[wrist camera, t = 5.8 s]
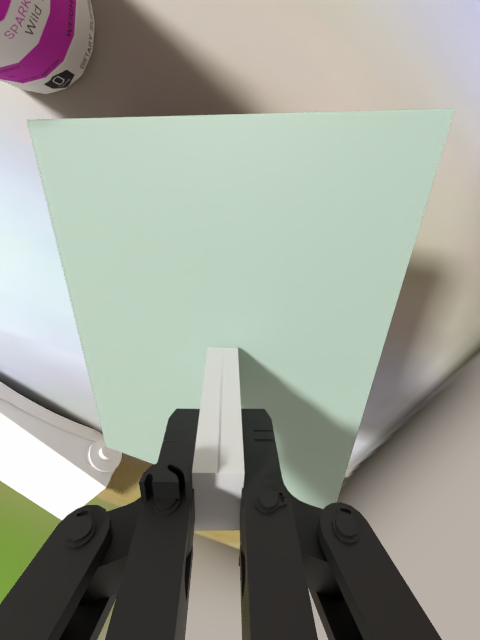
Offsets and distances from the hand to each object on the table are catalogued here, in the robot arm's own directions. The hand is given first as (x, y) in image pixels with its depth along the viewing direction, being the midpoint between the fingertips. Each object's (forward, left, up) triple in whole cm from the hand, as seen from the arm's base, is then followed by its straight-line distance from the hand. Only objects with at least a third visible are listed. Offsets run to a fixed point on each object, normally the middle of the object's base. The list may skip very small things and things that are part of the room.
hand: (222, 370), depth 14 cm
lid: (0, -1, -2) cm, 2 cm away
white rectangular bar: (+14, -25, -14) cm, 32 cm away
